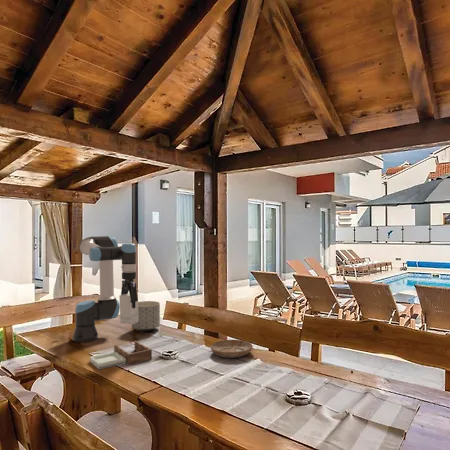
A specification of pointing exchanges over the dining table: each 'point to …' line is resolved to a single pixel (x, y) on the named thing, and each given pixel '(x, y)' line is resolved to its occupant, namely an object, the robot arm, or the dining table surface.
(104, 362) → the tray
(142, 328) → the planter
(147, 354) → the box
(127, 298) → the skincare box
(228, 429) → the dining table surface
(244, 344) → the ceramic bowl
